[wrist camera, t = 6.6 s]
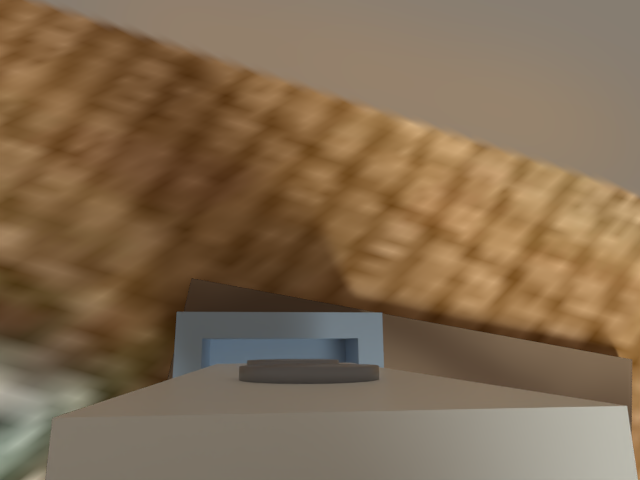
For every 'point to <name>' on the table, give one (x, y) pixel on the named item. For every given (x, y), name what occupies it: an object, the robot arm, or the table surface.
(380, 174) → the table surface
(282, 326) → the socket cup
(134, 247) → the table surface
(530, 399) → the tower
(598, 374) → the walnut board
